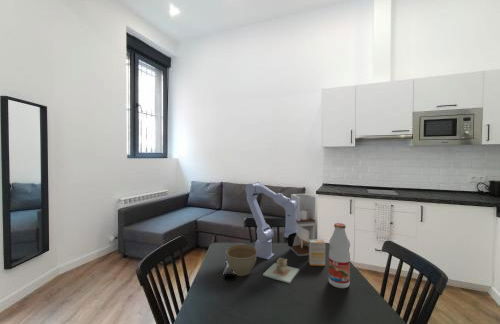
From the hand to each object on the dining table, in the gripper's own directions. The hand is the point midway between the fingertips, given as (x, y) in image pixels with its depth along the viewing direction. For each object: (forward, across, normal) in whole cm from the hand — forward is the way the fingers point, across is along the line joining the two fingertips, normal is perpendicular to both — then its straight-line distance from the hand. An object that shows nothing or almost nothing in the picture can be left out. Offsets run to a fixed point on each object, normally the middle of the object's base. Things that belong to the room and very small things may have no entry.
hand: (290, 246), depth 132 cm
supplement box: (+10, +6, -13) cm, 17 cm away
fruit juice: (+10, -8, -27) cm, 30 cm away
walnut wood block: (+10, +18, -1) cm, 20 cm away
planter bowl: (+10, -22, +18) cm, 30 cm away
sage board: (+9, -13, 0) cm, 16 cm away
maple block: (+8, -13, 0) cm, 16 cm away
